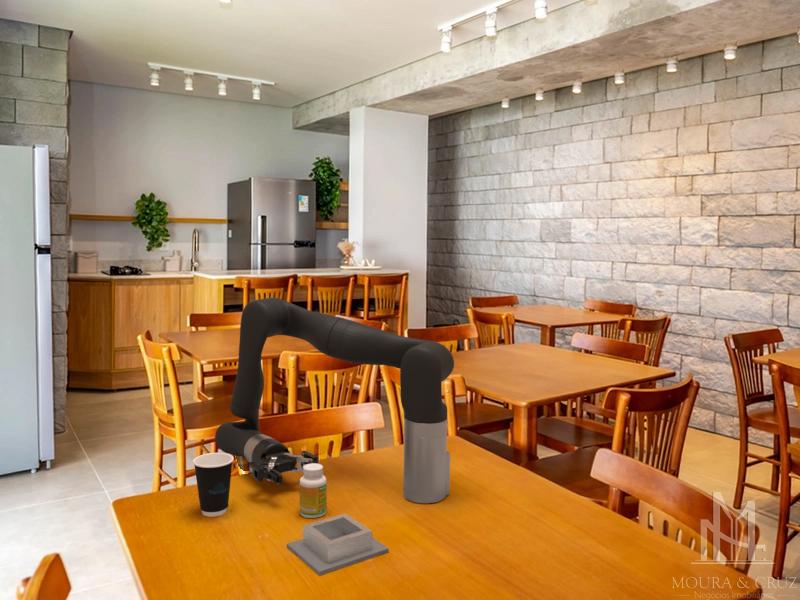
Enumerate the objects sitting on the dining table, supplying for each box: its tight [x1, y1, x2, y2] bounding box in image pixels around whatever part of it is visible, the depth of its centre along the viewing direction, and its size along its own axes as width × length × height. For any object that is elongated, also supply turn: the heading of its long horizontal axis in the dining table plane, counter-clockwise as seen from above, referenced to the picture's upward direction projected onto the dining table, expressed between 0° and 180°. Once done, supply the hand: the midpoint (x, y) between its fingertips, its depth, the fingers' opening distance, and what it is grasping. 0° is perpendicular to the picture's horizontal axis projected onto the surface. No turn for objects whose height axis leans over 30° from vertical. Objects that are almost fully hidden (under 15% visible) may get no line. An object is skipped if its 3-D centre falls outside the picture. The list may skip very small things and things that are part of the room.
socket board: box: [286, 513, 390, 576], centre depth 118 cm, size 14×12×4 cm
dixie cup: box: [192, 452, 235, 518], centre depth 133 cm, size 8×8×11 cm
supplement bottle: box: [299, 463, 328, 519], centre depth 133 cm, size 5×5×10 cm
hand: (299, 475), depth 137 cm, fingers open, 8 cm apart
